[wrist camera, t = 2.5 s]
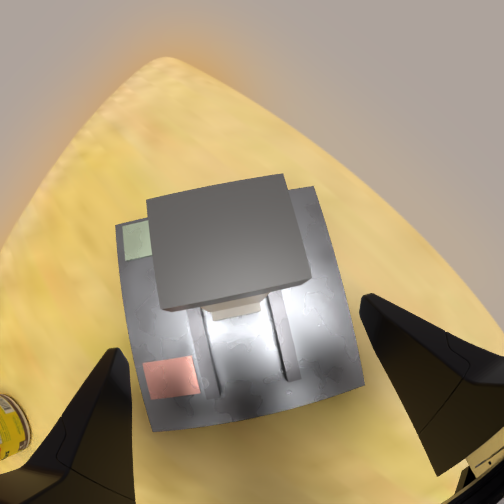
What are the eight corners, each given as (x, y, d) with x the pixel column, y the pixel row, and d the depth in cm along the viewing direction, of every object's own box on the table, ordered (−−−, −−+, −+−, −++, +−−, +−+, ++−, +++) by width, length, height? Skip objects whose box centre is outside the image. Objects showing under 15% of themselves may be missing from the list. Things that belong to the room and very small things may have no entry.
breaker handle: (266, 310, 17) (313, 281, 7) (207, 322, 17) (161, 313, 6) (255, 261, 18) (282, 170, 7) (197, 273, 18) (146, 196, 7)
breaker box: (353, 380, 19) (371, 387, 16) (160, 423, 17) (148, 437, 14) (307, 198, 22) (317, 179, 19) (125, 234, 20) (109, 220, 17)
